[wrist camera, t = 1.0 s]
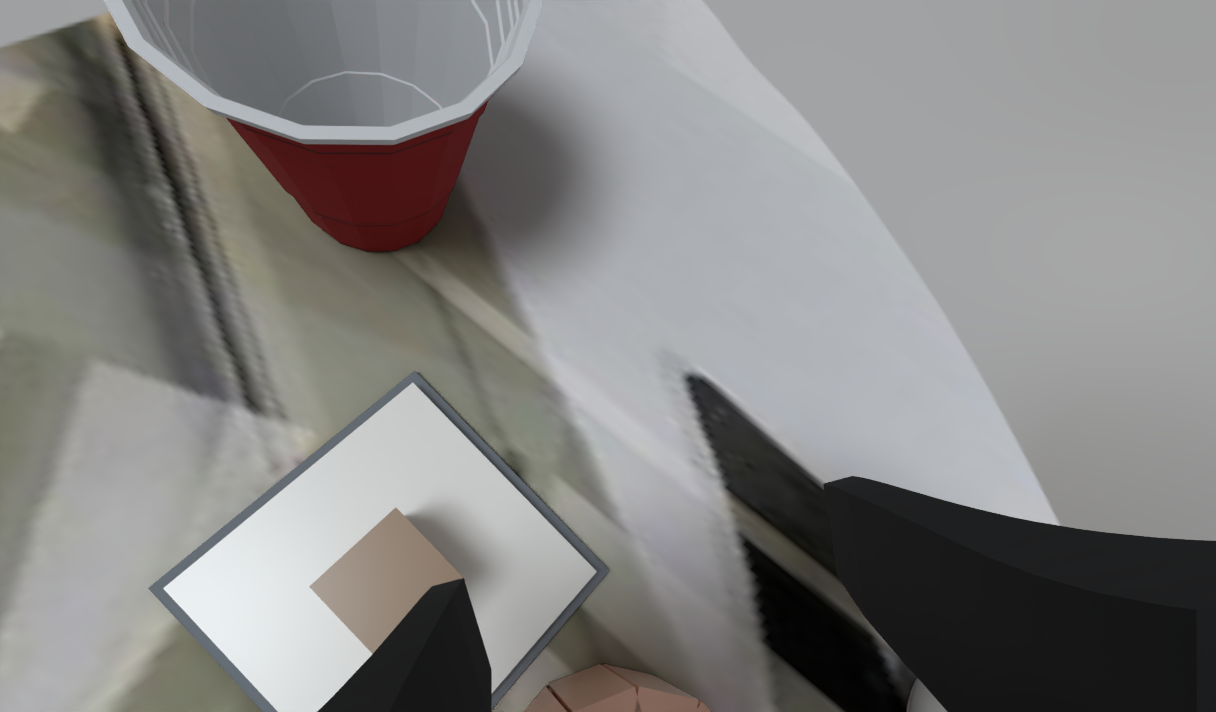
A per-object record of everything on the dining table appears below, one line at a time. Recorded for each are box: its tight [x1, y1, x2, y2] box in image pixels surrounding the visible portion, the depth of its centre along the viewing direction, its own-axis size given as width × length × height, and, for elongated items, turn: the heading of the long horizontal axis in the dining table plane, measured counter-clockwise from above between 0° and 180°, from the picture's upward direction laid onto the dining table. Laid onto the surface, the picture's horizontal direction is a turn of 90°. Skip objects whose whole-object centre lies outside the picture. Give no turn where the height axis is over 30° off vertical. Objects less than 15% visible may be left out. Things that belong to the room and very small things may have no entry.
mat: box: [148, 371, 609, 712], centre depth 22 cm, size 11×11×1 cm
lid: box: [163, 383, 597, 712], centre depth 19 cm, size 10×10×5 cm
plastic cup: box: [104, 0, 542, 252], centre depth 21 cm, size 11×11×12 cm
